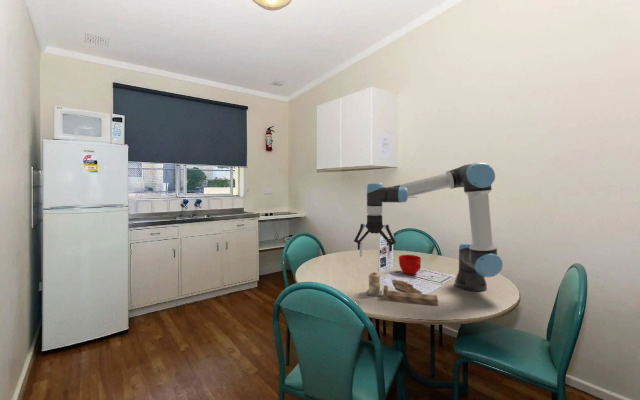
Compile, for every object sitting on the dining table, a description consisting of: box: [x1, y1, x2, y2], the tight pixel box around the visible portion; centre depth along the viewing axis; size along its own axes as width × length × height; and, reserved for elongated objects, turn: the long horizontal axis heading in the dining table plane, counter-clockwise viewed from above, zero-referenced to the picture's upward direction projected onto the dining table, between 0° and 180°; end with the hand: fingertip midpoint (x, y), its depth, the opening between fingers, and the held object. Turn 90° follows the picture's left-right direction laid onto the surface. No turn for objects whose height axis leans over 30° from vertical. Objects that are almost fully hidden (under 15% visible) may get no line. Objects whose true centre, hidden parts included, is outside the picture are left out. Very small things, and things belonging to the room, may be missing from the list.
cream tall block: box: [368, 271, 381, 295], centre depth 144 cm, size 5×5×10 cm
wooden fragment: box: [391, 278, 423, 294], centre depth 154 cm, size 26×11×1 cm, turn 8°
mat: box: [365, 288, 383, 298], centre depth 144 cm, size 7×7×1 cm
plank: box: [382, 285, 439, 306], centre depth 136 cm, size 24×6×5 cm, turn 73°
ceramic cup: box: [398, 254, 422, 276], centre depth 176 cm, size 13×17×10 cm
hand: (374, 257), depth 144 cm, fingers open, 13 cm apart
